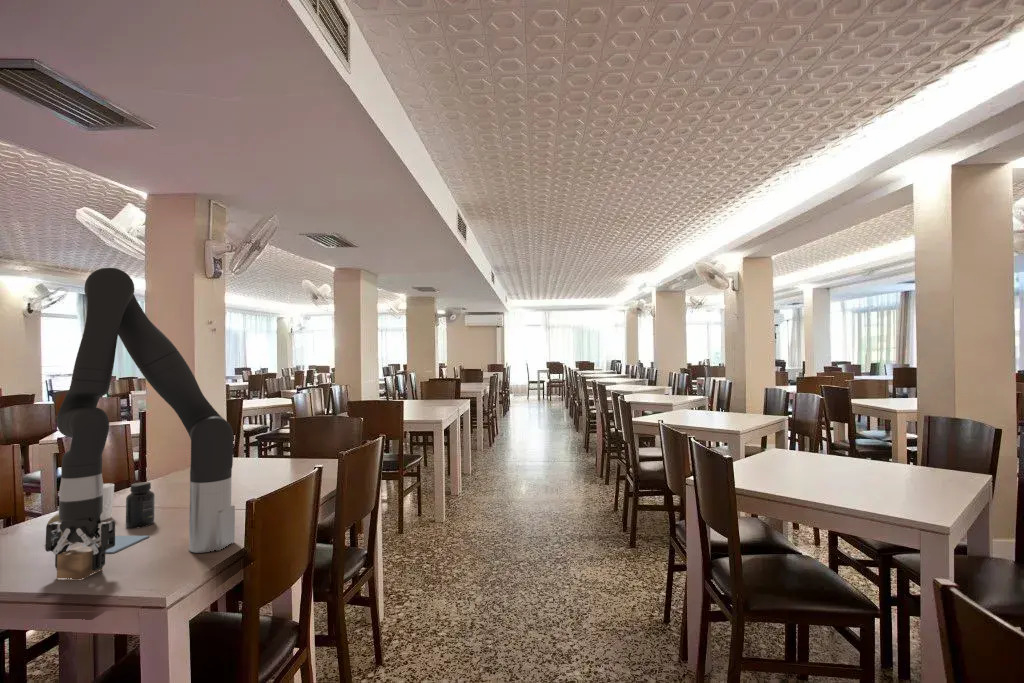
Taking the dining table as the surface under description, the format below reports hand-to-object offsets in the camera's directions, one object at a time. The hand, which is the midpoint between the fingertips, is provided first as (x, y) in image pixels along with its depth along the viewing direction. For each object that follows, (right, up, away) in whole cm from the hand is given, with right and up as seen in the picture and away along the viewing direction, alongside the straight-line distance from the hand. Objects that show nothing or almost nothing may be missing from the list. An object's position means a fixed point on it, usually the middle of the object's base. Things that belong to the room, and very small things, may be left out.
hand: (80, 569), depth 114 cm
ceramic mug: (-25, -3, +28) cm, 38 cm away
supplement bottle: (-13, -3, +36) cm, 39 cm away
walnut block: (0, -1, 0) cm, 1 cm away
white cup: (-31, -4, +43) cm, 53 cm away
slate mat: (-9, -2, +19) cm, 21 cm away
